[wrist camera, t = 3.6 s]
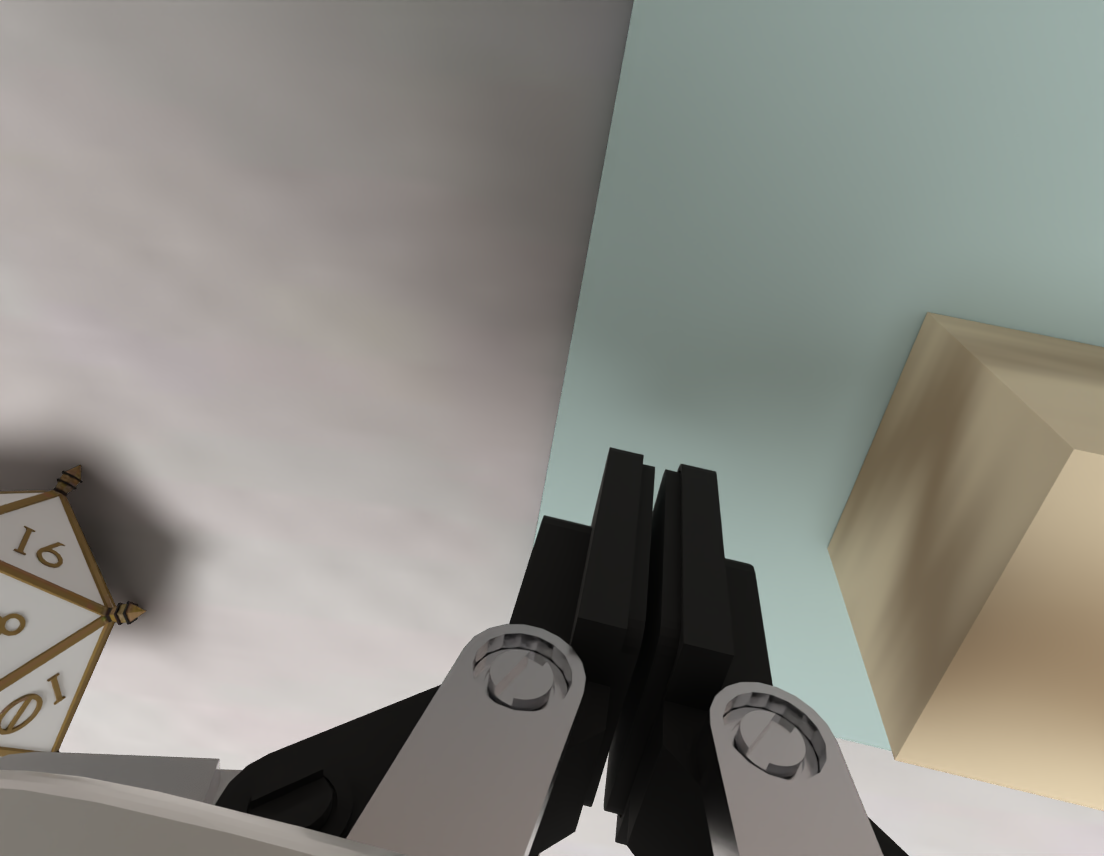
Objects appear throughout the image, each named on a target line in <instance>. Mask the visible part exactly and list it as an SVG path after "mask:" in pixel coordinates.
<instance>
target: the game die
mask: <svg viewBox="0 0 1104 856" xmlns="http://www.w3.org/2000/svg"><path fill="white" fill-rule="evenodd" d="M62 474H63V475H62V476H61V478H60V479H59V478H58V479H57V481H58V483H57V485H56V488H55V489H54V490H30V491H0V757H3V756H6V755H9V754H18V753H27V752H59V748H60V746H61V744H62V741H63V739H64V737H65V734H66V732H67V730H68V728H69V725H70V723H71V721H72V719H73V716H74V714H75V712H76V709H77V707H78V705H79V703H80V700H81V698H82V696H83V694H84V691H85V689H86V687H87V685H88V682H89V680H90V678H91V675H92V673H93V671H94V669H95V666H96V664H97V662H98V660H99V657H100V655H101V653H102V650H103V648H104V646H105V644H106V641H107V639H108V637H109V635H110V632H111V630H112V628H113V625H114V623H115V622H117V623H118V625H121V624H122V623H127V624H131V623H132V622H134V621H135V620H137V619H138V616H140V615H141V614H143V613H144V612H146V611H145V610H143V609H141V608H139V607H138V605H137V604H135V603H133V602H130V601H128V602H127V604H123V603H118V606H116V605H115V603H114V601H113V599H112V596H111V594H110V592H109V590H108V588H107V585H106V583H105V581H104V579H103V577H102V574H101V572H100V570H99V568H98V566H97V563H96V561H95V559H94V557H93V555H92V552H91V550H90V548H89V546H88V543H87V541H86V539H85V537H84V535H83V532H82V530H81V528H80V526H79V524H78V521H77V519H76V517H75V515H74V513H73V510H72V508H71V506H70V504H69V502H68V499H67V497H66V496H67V493H69V492H70V491H72V490H73V489H75V490H76V489H77V488H76V486H77V485H78V483H79V482H80V483H82V482H83V481H82V480H81V465H79V466H77V467H74V468H72V469H70V470H68V471H62Z"/></svg>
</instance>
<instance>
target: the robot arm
mask: <svg viewBox="0 0 1104 856" xmlns="http://www.w3.org/2000/svg"><path fill="white" fill-rule="evenodd" d="M643 459H644V455H642V454H638V453H633V452H629V451H625V450H620V449H616V448H612V447H610V448H609V452H608V456H607V460H606V464H605V468H604V473H603V477H602V481H601V485H600V489H599V493H598V498H597V502H596V506H595V510H594V514H593V519H592V523H591V526H588V525H584V524H580V523H576V522H571V521H567V520H563V519H559V518H554V517H550V516H546V515H544V516H543V518H542V521H541V524H540V528H539V531H538V534H537V537H536V540H535V544H534V547H533V550H532V553H531V556H530V559H529V563H528V566H527V569H526V572H525V575H524V579H523V582H522V585H521V588H520V591H519V594H518V598H517V601H516V604H515V607H514V610H513V614H512V617H511V620H510V623H509V624H505V625H501V626H496V627H492V628H489V629H487V630H485V631H483V632H481V633H479V634H478V635H476V636H474V637H473V638H472V640H471V641H470V642H469V643H468V644H467V645H466V646H465V647H464V649H463V650H462V652H461V653H460V655H459V657H458V658H457V660H456V662H455V663H454V665H453V666H452V668H451V670H450V671H449V673H448V674H447V676H446V678H445V679H444V681H443V683H442V684H441V685H439V686H437V687H434V688H432V689H429V690H427V691H424V692H422V693H419V694H417V695H414V696H412V697H409V698H407V699H404V700H402V701H399V702H397V703H394V704H392V705H389V706H387V707H384V708H382V709H379V710H377V711H374V712H372V713H369V714H367V715H364V716H362V717H359V718H357V719H354V720H352V721H349V722H347V723H344V724H342V725H339V726H337V727H334V728H332V729H329V730H327V731H324V732H322V733H319V734H317V735H315V736H312V737H310V738H307V739H305V740H302V741H300V742H297V743H295V744H292V745H290V746H287V747H285V748H282V749H280V750H277V751H275V752H272V753H270V754H268V755H266V756H264V757H262V758H260V759H259V760H257V761H255V762H253V763H251V764H249V765H248V766H247V767H245V768H244V769H243V770H222V769H220V759H211V758H186V757H161V756H136V755H111V754H86V753H61V752H27V753H18V754H9V755H6V756H3V757H0V856H540V853H541V852H542V851H544V850H546V849H547V848H549V847H551V846H552V845H554V844H556V843H557V842H559V841H560V840H562V839H564V838H565V837H567V836H569V835H570V834H572V833H573V832H575V830H576V827H577V824H578V820H579V817H580V814H581V810H582V807H583V805H585V806H589V807H591V806H592V804H593V801H594V798H595V795H596V792H597V788H598V785H599V782H600V779H601V775H602V772H603V769H604V766H605V762H606V759H607V756H608V753H609V758H608V767H607V777H606V786H605V796H604V811H608V812H612V813H616V814H618V815H617V827H616V838H615V842H617V843H620V844H624V845H627V846H628V848H629V849H630V850H631V852H632V853H633V854H634V856H909V855H908V854H906V853H905V852H904V851H903V850H902V849H901V848H900V847H899V846H898V845H897V844H896V843H895V842H894V841H893V840H892V839H891V838H890V837H889V836H888V835H886V834H885V833H884V832H883V831H882V830H881V829H880V828H879V827H878V826H877V825H876V824H875V823H874V822H873V821H872V820H871V819H870V818H869V817H868V816H867V814H866V811H865V809H864V806H863V804H862V801H861V799H860V797H859V794H858V792H857V789H856V787H855V784H854V782H853V779H852V777H851V774H850V772H849V769H848V767H847V764H846V762H845V759H844V757H843V754H842V752H841V749H840V747H839V744H838V742H837V740H836V738H835V737H834V735H833V733H832V731H831V730H830V728H829V726H828V724H827V723H826V722H825V721H824V720H823V719H822V718H821V717H820V716H819V715H818V714H817V712H816V711H815V710H814V709H813V708H811V707H810V706H809V705H807V704H806V703H805V702H803V701H802V700H800V699H799V698H798V697H796V696H795V695H792V694H790V693H788V692H786V691H784V690H782V689H780V688H778V687H775V686H773V683H772V677H771V670H770V664H769V657H768V651H767V644H766V638H765V631H764V625H763V619H762V612H761V606H760V599H759V593H758V586H757V580H756V573H755V570H754V566H752V565H751V564H748V563H744V562H740V561H736V560H731V559H727V558H725V554H724V544H723V533H722V523H721V513H720V502H719V492H718V481H717V473H716V471H712V470H707V469H703V468H699V467H694V466H690V465H686V464H680V466H679V468H678V470H677V472H676V471H671V470H667V469H665V471H664V474H663V477H662V480H661V484H660V487H659V491H658V494H657V498H656V501H655V505H654V508H653V496H654V480H655V467H654V466H649V465H645V464H643Z"/></svg>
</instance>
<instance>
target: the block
mask: <svg viewBox="0 0 1104 856" xmlns="http://www.w3.org/2000/svg"><path fill="white" fill-rule="evenodd" d="M827 549H828V552H829V555H830V558H831V562H832V565H833V568H834V571H835V574H836V577H837V580H838V584H839V587H840V590H841V593H842V596H843V599H844V602H845V606H846V609H847V612H848V615H849V618H850V621H851V624H852V628H853V631H854V634H855V637H856V640H857V643H858V646H859V650H860V653H861V656H862V659H863V662H864V665H865V668H866V671H867V675H868V678H869V681H870V684H871V687H872V690H873V693H874V697H875V700H876V703H877V706H878V709H879V712H880V715H881V719H882V722H883V725H884V728H885V731H886V734H887V737H888V741H889V744H890V747H891V750H892V753H893V756H894V759H895V760H896V761H900V762H905V763H909V764H913V765H917V766H921V767H925V768H929V769H933V770H937V771H942V772H946V773H950V774H954V775H958V776H962V777H966V778H970V779H974V780H979V781H983V782H987V783H991V784H995V785H999V786H1003V787H1007V788H1011V789H1016V790H1020V791H1024V792H1028V793H1032V794H1036V795H1040V796H1044V797H1048V798H1053V799H1057V800H1061V801H1065V802H1069V803H1073V804H1077V805H1081V806H1085V807H1090V808H1094V809H1098V810H1102V811H1104V347H1100V346H1095V345H1090V344H1085V343H1080V342H1075V341H1070V340H1065V339H1060V338H1055V337H1050V336H1045V335H1040V334H1035V333H1030V332H1025V331H1020V330H1015V329H1010V328H1005V327H1000V326H995V325H990V324H985V323H980V322H975V321H970V320H965V319H960V318H955V317H950V316H945V315H940V314H935V313H930V312H927V314H926V316H925V319H924V321H923V323H922V326H921V328H920V330H919V333H918V335H917V338H916V340H915V342H914V345H913V347H912V349H911V352H910V354H909V356H908V359H907V361H906V364H905V366H904V368H903V371H902V373H901V375H900V378H899V380H898V382H897V385H896V387H895V390H894V392H893V394H892V397H891V399H890V401H889V404H888V406H887V408H886V411H885V413H884V416H883V418H882V420H881V423H880V425H879V427H878V430H877V432H876V434H875V437H874V439H873V442H872V444H871V446H870V449H869V451H868V453H867V456H866V458H865V460H864V463H863V465H862V468H861V470H860V472H859V475H858V477H857V479H856V482H855V484H854V487H853V489H852V491H851V494H850V496H849V498H848V501H847V503H846V505H845V508H844V510H843V513H842V515H841V517H840V520H839V522H838V524H837V527H836V529H835V531H834V534H833V536H832V539H831V541H830V543H829V546H828V548H827Z"/></svg>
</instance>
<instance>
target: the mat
mask: <svg viewBox="0 0 1104 856" xmlns="http://www.w3.org/2000/svg"><path fill="white" fill-rule="evenodd" d="M927 312H930V313H935V314H940V315H945V316H950V317H955V318H960V319H965V320H970V321H975V322H980V323H985V324H990V325H995V326H1000V327H1005V328H1010V329H1015V330H1020V331H1025V332H1030V333H1035V334H1040V335H1045V336H1050V337H1055V338H1060V339H1065V340H1070V341H1075V342H1080V343H1085V344H1090V345H1095V346H1100V347H1104V0H634V3H633V8H632V14H631V19H630V24H629V30H628V35H627V41H626V46H625V51H624V57H623V62H622V68H621V73H620V79H619V84H618V89H617V95H616V100H615V106H614V111H613V116H612V122H611V127H610V133H609V138H608V144H607V149H606V154H605V160H604V165H603V171H602V176H601V182H600V187H599V192H598V198H597V203H596V209H595V214H594V219H593V225H592V230H591V236H590V241H589V247H588V252H587V257H586V263H585V268H584V274H583V279H582V285H581V290H580V295H579V301H578V306H577V312H576V317H575V322H574V328H573V333H572V339H571V344H570V350H569V355H568V360H567V366H566V371H565V377H564V382H563V388H562V393H561V398H560V404H559V409H558V415H557V420H556V425H555V431H554V436H553V442H552V447H551V453H550V458H549V463H548V469H547V474H546V480H545V485H544V491H543V496H542V501H541V507H540V512H539V518H538V523H537V528H536V534H535V539H534V544H535V540H536V537H537V534H538V531H539V528H540V524H541V521H542V518H543V516H544V515H546V516H550V517H554V518H559V519H563V520H567V521H571V522H576V523H580V524H584V525H588V526H591V523H592V519H593V514H594V510H595V506H596V502H597V498H598V493H599V489H600V485H601V481H602V477H603V473H604V468H605V464H606V460H607V456H608V452H609V448H610V447H612V448H616V449H620V450H625V451H629V452H633V453H638V454H642V455H644V459H643V464H645V465H649V466H654V467H655V480H654V496H653V508H654V505H655V501H656V498H657V494H658V491H659V487H660V484H661V480H662V477H663V474H664V471H665V469H667V470H671V471H676V472H677V470H678V468H679V466H680V464H686V465H690V466H694V467H699V468H703V469H707V470H712V471H716V473H717V481H718V492H719V502H720V513H721V523H722V533H723V544H724V554H725V558H727V559H731V560H736V561H740V562H744V563H748V564H751V565H752V566H754V570H755V573H756V580H757V586H758V593H759V599H760V606H761V612H762V619H763V625H764V631H765V638H766V644H767V651H768V657H769V664H770V670H771V677H772V683H773V686H775V687H778V688H780V689H782V690H784V691H786V692H788V693H790V694H792V695H795V696H796V697H798V698H799V699H800V700H802V701H803V702H805V703H806V704H807V705H809V706H810V707H811V708H813V709H814V710H815V711H816V712H817V714H818V715H819V716H820V717H821V718H822V719H823V720H824V721H825V722H826V723H827V724H828V726H829V728H830V730H831V731H832V733H833V735H834V737H836V738H840V739H844V740H848V741H852V742H856V743H860V744H865V745H869V746H873V747H877V748H881V749H885V750H889V751H892V750H891V747H890V744H889V741H888V737H887V734H886V731H885V728H884V725H883V722H882V719H881V715H880V712H879V709H878V706H877V703H876V700H875V697H874V693H873V690H872V687H871V684H870V681H869V678H868V675H867V671H866V668H865V665H864V662H863V659H862V656H861V653H860V650H859V646H858V643H857V640H856V637H855V634H854V631H853V628H852V624H851V621H850V618H849V615H848V612H847V609H846V606H845V602H844V599H843V596H842V593H841V590H840V587H839V584H838V580H837V577H836V574H835V571H834V568H833V565H832V562H831V558H830V555H829V552H828V549H827V548H828V546H829V543H830V541H831V539H832V536H833V534H834V531H835V529H836V527H837V524H838V522H839V520H840V517H841V515H842V513H843V510H844V508H845V505H846V503H847V501H848V498H849V496H850V494H851V491H852V489H853V487H854V484H855V482H856V479H857V477H858V475H859V472H860V470H861V468H862V465H863V463H864V460H865V458H866V456H867V453H868V451H869V449H870V446H871V444H872V442H873V439H874V437H875V434H876V432H877V430H878V427H879V425H880V423H881V420H882V418H883V416H884V413H885V411H886V408H887V406H888V404H889V401H890V399H891V397H892V394H893V392H894V390H895V387H896V385H897V382H898V380H899V378H900V375H901V373H902V371H903V368H904V366H905V364H906V361H907V359H908V356H909V354H910V352H911V349H912V347H913V345H914V342H915V340H916V338H917V335H918V333H919V330H920V328H921V326H922V323H923V321H924V319H925V316H926V314H927ZM533 547H534V545H533Z"/></svg>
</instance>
